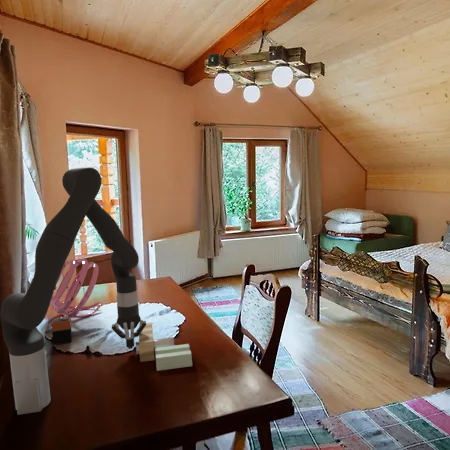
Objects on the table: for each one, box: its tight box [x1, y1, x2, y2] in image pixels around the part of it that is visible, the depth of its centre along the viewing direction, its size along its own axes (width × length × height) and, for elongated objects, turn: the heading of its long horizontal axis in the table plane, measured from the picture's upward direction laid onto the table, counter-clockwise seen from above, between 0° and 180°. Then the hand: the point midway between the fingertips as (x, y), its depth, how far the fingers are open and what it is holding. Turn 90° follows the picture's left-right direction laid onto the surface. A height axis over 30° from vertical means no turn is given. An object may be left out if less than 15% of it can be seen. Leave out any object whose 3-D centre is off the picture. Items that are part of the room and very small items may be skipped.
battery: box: [50, 316, 73, 346], centre depth 157 cm, size 4×7×10 cm, turn 107°
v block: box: [154, 343, 193, 372], centre depth 137 cm, size 10×12×4 cm
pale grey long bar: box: [135, 337, 176, 355], centre depth 146 cm, size 14×4×4 cm, turn 103°
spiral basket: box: [49, 258, 102, 319], centre depth 186 cm, size 28×28×27 cm
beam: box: [138, 322, 156, 363], centre depth 147 cm, size 18×5×7 cm, turn 12°
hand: (130, 347), depth 145 cm, fingers closed
